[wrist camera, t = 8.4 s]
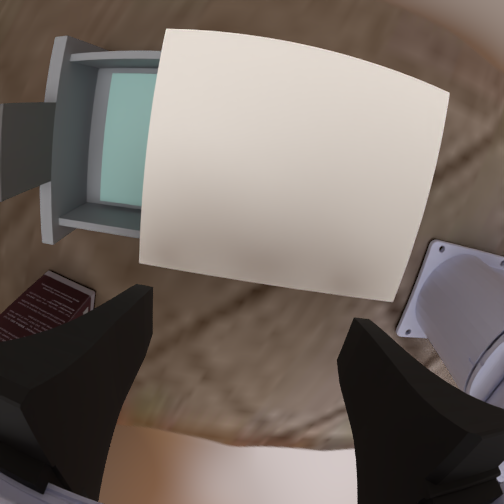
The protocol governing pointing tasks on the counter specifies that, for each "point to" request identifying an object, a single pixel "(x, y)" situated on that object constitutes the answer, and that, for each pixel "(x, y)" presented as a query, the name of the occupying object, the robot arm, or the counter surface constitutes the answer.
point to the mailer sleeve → (286, 164)
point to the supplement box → (45, 307)
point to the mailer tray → (83, 140)
